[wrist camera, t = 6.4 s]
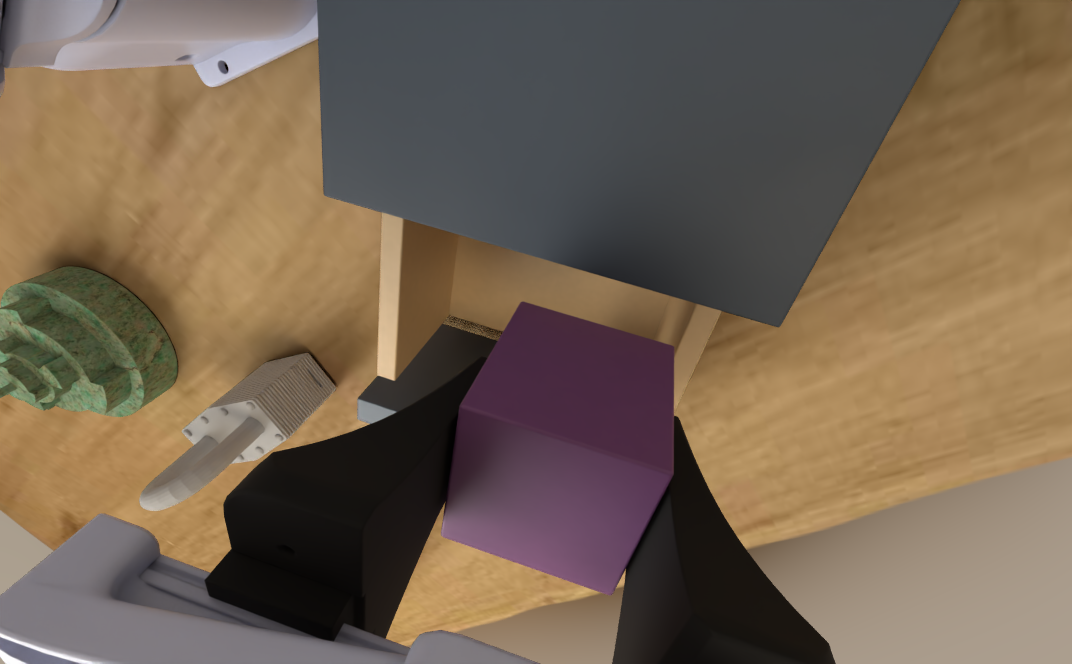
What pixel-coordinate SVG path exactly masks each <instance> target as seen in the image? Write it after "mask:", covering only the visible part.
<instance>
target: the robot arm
mask: <svg viewBox="0 0 1072 664" xmlns="http://www.w3.org/2000/svg"><path fill="white" fill-rule="evenodd" d="M317 39H318V18H317V0H0V97H1V95H2V93H3V91H4V85H5V71H4V67H5V68H17V67H39V66H42V67H46V68H50V69H56V70H65V71H78V70H97V69H115V68H134V67H152V66H171V65H189V64H193V65H194V67H195V69H196V71H197V72H198V74H199V76H200V78H201V79H202V81H203V82H204V83H205V84H206V85H207V86H210V87H216V86H221V85H223V84H225V83H227V82H229V81H231V80H233V79H236V78H238V77H240V76H242V75H244V74H246V73H248V72H250V71H252V70H254V69H256V68H259V67H261V66H263V65H265V64H267V63H269V62H271V61H273V60H275V59H277V58H279V57H282V56H284V55H286V54H288V53H290V52H292V51H294V50H296V49H298V48H300V47H302V46H304V45H307V44H309V43H311V42H313V41H315V40H317ZM225 62H226V64H227V65H228V68H229V69H228V71H227V70H226V68H225ZM486 360H487V358H486V357H483V356H481V357H478V358H477V359H476V360H474V361H473V362H472V363H471V364H469V365H468V366H467V367H466V368H464V369H463V370H462V371H460V372H459V373H458V374H456V375H455V376H454V377H452V378H451V379H450V380H448V381H447V382H445V383H444V384H442V385H441V386H439V387H438V388H437V389H435V390H434V391H432V392H431V393H429V394H427V395H426V396H424V397H422V398H421V399H419V400H417V401H416V402H414V403H412V404H411V405H409V406H407V407H405V408H403V409H402V410H400V411H398V412H396V413H394V414H392V415H390V416H388V417H386V418H384V419H381V420H379V421H377V422H374V423H372V424H370V425H367V426H365V427H362V428H360V429H357V430H355V431H352V432H349V433H346V434H343V435H340V436H337V437H334V438H330V439H327V440H324V441H320V442H317V443H313V444H309V445H304V446H300V447H296V448H291V449H287V450H282V451H277V452H273V453H272V454H270V455H269V456H268V457H267V458H266V459H265V460H263V461H262V462H261V463H260V464H259V465H258V466H257V467H255V468H254V469H253V470H252V471H251V472H250V473H249V474H248V475H247V476H246V477H245V478H244V479H243V480H242V482H241V483H240V484H239V485H238V486H237V487H236V488H235V489H234V490H233V491H232V492H231V493H230V494H229V495H228V496H227V497H226V500H225V502H224V504H223V505H224V518H225V522H226V527H227V531H228V535H229V539H230V544H231V548H232V549H231V550H230V551H229V552H228V554H227V555H226V556H225V557H224V558H223V559H222V561H221V562H220V563H219V564H218V565H217V566H216V567H215V569H214V570H213V571H212V572H211V573H209V572H207V571H204V570H201V569H199V568H196V567H193V566H191V565H188V564H185V563H183V562H180V561H177V560H175V559H172V558H170V557H167V556H164V555H162V554H160V548H159V543H158V541H157V539H156V538H155V536H154V535H153V534H151V533H150V532H149V531H148V530H146V529H144V528H142V527H140V526H137V525H134V524H132V523H129V522H126V521H123V520H121V519H118V518H115V517H113V516H110V515H107V514H98V515H97V516H96V517H95V518H93V519H92V520H91V521H90V522H89V523H87V524H86V525H85V526H84V527H82V528H81V529H80V530H79V531H78V532H76V533H75V534H74V535H73V536H72V537H70V538H69V539H68V540H67V541H66V542H64V543H63V544H62V545H61V546H59V547H58V548H57V549H56V550H55V551H53V552H52V553H51V554H50V555H49V556H47V557H46V558H45V559H44V560H43V561H41V562H40V563H39V564H38V565H37V566H35V567H34V568H33V569H32V570H30V571H29V572H28V573H27V574H26V575H24V576H23V577H22V578H21V579H20V580H19V581H17V582H16V583H15V584H13V585H12V586H11V587H10V588H9V589H8V590H6V591H5V592H4V593H3V594H1V595H0V657H1V659H2V660H3V661H4V662H5V663H6V664H540V663H537V662H534V661H532V660H529V659H526V658H523V657H521V656H518V655H515V654H513V653H510V652H507V651H504V650H502V649H499V648H497V647H494V646H490V645H488V644H485V643H483V642H480V641H478V640H475V639H472V638H469V637H467V636H464V635H461V634H457V633H452V632H448V631H443V630H438V631H431V632H425V633H422V634H420V635H419V636H418V637H417V639H416V640H415V641H414V643H413V644H412V646H411V648H409V647H406V646H403V645H401V644H398V643H395V642H393V641H390V640H387V639H385V638H386V636H387V633H388V631H389V628H390V626H391V624H392V621H393V619H394V616H395V614H396V611H397V609H398V607H399V604H400V602H401V599H402V597H403V595H404V592H405V590H406V587H407V585H408V583H409V580H410V578H411V576H412V573H413V571H414V569H415V566H416V564H417V562H418V559H419V557H420V555H421V553H422V550H423V548H424V546H425V543H426V541H427V539H428V537H429V534H430V532H431V530H432V528H433V526H434V523H435V521H436V519H437V517H438V515H439V513H440V511H441V509H442V507H443V505H444V503H445V501H446V496H447V489H448V482H449V475H450V468H451V462H452V455H453V448H454V441H455V434H456V427H457V421H458V414H459V407H460V404H461V403H462V401H463V399H464V398H465V396H466V394H467V392H468V391H469V389H470V387H471V386H472V384H473V382H474V381H475V379H476V377H477V375H478V374H479V372H480V370H481V369H482V367H483V365H484V364H485V362H486ZM612 664H836V663H835V660H834V658H833V655H832V652H831V649H830V646H829V643H828V642H827V641H826V640H825V639H824V638H823V637H822V636H821V635H820V634H819V633H818V632H817V631H816V630H815V629H814V628H813V627H812V626H811V625H810V624H809V623H808V622H807V621H806V620H805V619H804V618H803V617H802V616H801V615H800V614H799V613H798V612H797V611H796V610H795V609H794V607H793V606H792V605H791V604H790V603H789V602H788V601H787V600H786V599H785V597H784V596H783V595H782V594H781V593H780V592H779V590H778V589H777V588H776V587H775V586H774V585H773V584H772V582H771V581H770V580H769V579H768V578H767V576H766V575H765V574H764V573H763V571H762V570H761V569H760V567H759V566H758V565H757V563H756V562H755V561H754V560H753V558H752V557H751V556H750V554H749V553H748V552H747V550H746V549H745V547H744V546H743V545H742V543H741V542H740V540H739V539H738V537H737V536H736V534H735V533H734V531H733V530H732V528H731V527H730V525H729V523H728V522H727V520H726V519H725V517H724V515H723V514H722V512H721V510H720V508H719V507H718V505H717V503H716V501H715V499H714V497H713V496H712V494H711V492H710V490H709V488H708V486H707V484H706V482H705V480H704V477H703V475H702V473H701V471H700V469H699V467H698V464H697V462H696V460H695V458H694V455H693V453H692V450H691V448H690V446H689V443H688V440H687V438H686V435H685V433H684V430H683V427H682V425H681V422H680V420H679V418H678V417H677V416H674V475H673V477H672V479H671V481H670V483H669V484H668V486H667V488H666V490H665V492H664V494H663V496H662V498H661V500H660V502H659V504H658V506H657V508H656V510H655V512H654V514H653V516H652V518H651V520H650V522H649V524H648V526H647V528H646V530H645V532H644V534H643V536H642V537H641V539H640V541H639V543H638V545H637V547H636V549H635V551H634V553H633V555H632V557H631V559H630V561H629V563H628V565H627V567H626V575H625V584H624V591H623V598H622V606H621V612H620V619H619V625H618V632H617V639H616V644H615V651H614V657H613V662H612Z"/></svg>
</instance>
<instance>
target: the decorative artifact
mask: <svg viewBox="0 0 1072 664" xmlns="http://www.w3.org/2000/svg"><path fill="white" fill-rule="evenodd" d="M177 369H178V368H177V359H176V355H175V351H174V348H173V346H172V343H171V341H170V339H169V337H168V335H167V334H166V332H165V330H164V329H163V327H162V326H161V324H160V323H159V321H158V320H157V319H156V318H155V316H154V315H153V314H152V313H151V312H150V310H149V309H148V308H147V307H146V306H145V305H144V304H143V303H142V302H141V301H140V300H139V299H138V298H137V297H135V296H134V295H133V294H132V293H131V292H129V291H128V290H127V289H126V288H124V287H123V286H121V285H120V284H118V283H117V282H115V281H114V280H112V279H110V278H108V277H107V276H104V275H102V274H100V273H98V272H95V271H93V270H89V269H86V268H81V267H74V266H67V267H62V268H59V269H56V270H53V271H50V272H48V273H45V274H42V275H40V276H37V277H34V278H32V279H29V280H26V281H24V282H21V283H18V284H15V285H13V286H11V287H10V288H8V289H7V290H6V292H5V293H4V295H3V297H2V300H1V308H0V398H1V397H3V396H5V395H8V394H10V395H12V396H13V397H15V398H17V399H19V400H23V401H25V402H27V403H29V404H30V405H32V406H34V407H36V408H38V409H41V410H46V409H48V410H49V409H51V408H53V407H54V406H58V407H60V408H63V409H66V410H69V411H77V412H78V411H85V410H87V409H88V410H91V411H93V412H96V413H99V414H102V415H107V416H113V417H123V416H128V415H131V414H133V413H135V412H136V411H138V410H139V409H141V408H142V407H144V406H145V405H147V404H148V403H149V402H151V401H152V400H154V399H155V398H157V397H158V396H160V395H161V394H162V393H164V392H165V391H167V390H168V389H170V388H171V386H172V385H173V384H174V382H175V380H176V376H177Z"/></svg>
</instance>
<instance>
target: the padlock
mask: <svg viewBox="0 0 1072 664" xmlns="http://www.w3.org/2000/svg"><path fill="white" fill-rule="evenodd" d="M335 390H336V386H335V385H334V384H333V383H332V381H331V380H330V379H329V378H328V376H327V375H326V374H325V373H324V371H323V370H322V369H321V368H320V366H319V365H318V364H317V363H316V361H315V360H314V359H313V358H312V356H311V355H310V354H309V353H304V354H299V355H295V356H291V357H286V358H282V359H278V360H274V361H269V362H266V363H264V364H263V365H262V366H260V367H259V368H258V369H256V370H255V371H254V372H253V373H251V374H250V375H249V376H247V377H246V378H245V379H244V380H242V381H241V382H240V383H239V384H237V385H236V386H235V387H233V388H232V389H231V390H230V391H228V392H227V393H226V394H225V395H223V396H222V397H221V398H220V399H218V400H217V401H216V402H214V403H213V404H212V405H211V406H209V407H208V408H207V409H206V410H205V411H203V412H202V413H201V414H200V415H199V416H198V417H196V418H195V419H194V420H193V421H192V422H191V423H189V424H188V425H187V426H186V427H185V428H184V429H183V430H182V433H183V434H184V435H185V436H186V437H187V438H188V439H189V440H190V441H191V442H192V443H193V444H194V446H193V447H191V448H190V449H189V450H188V451H187V452H185V453H184V454H183V455H182V456H181V457H179V458H178V459H177V460H176V461H175V462H174V463H172V464H171V465H170V466H169V467H168V468H166V469H165V470H164V471H163V472H162V473H161V474H159V475H158V476H157V477H156V478H155V479H154V480H152V481H151V482H150V483H149V484H148V485H147V486H146V488H145V489H144V490H143V491H142V493H141V496H140V500H139V502H140V505H141V506H142V508H144V509H146V510H151V511H159V510H163V509H166V508H169V507H171V506H174V505H176V504H178V503H180V502H182V501H184V500H185V499H187V498H189V497H190V496H192V495H193V494H195V493H196V492H198V491H199V490H200V489H202V488H203V487H204V486H206V485H207V484H208V483H209V482H211V481H212V480H213V479H214V478H215V477H216V476H218V475H219V474H220V473H221V472H222V471H223V470H224V469H225V468H226V467H227V466H228V465H230V464H232V463H239V462H247V461H255V460H257V459H259V458H260V457H262V456H263V455H265V454H266V453H268V452H269V451H271V450H272V449H274V448H275V447H277V446H278V445H280V444H281V443H282V442H284V441H285V440H287V439H288V438H290V436H292V434H293V433H295V431H296V430H297V429H298V428H299V427H300V426H301V425H302V424H303V423H304V422H305V421H306V420H307V419H308V418H309V417H310V416H311V415H312V414H313V413H314V412H315V411H316V410H317V409H318V407H320V405H322V403H324V401H326V399H327V398H328V397H329V396H330V395H331V394H332V393H333V392H334V391H335Z"/></svg>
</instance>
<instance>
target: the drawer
mask: <svg viewBox="0 0 1072 664" xmlns="http://www.w3.org/2000/svg"><path fill="white" fill-rule="evenodd" d="M521 302H527V303H530V304H534V305H537V306H540V307H544V308H547V309H551V310H554V311H557V312H561V313H564V314H568V315H571V316H574V317H578V318H581V319H584V320H588V321H591V322H595V323H598V324H601V325H605V326H608V327H612V328H615V329H618V330H622V331H625V332H628V333H632V334H635V335H639V336H642V337H645V338H649V339H652V340H656V341H659V342H662V343H666V344H669V345H672V346H674V413H675V410H676V408H677V406H678V404H679V402H680V400H681V398H682V396H683V393H684V391H685V389H686V387H687V385H688V383H689V381H690V378H691V376H692V374H693V372H694V370H695V368H696V366H697V363H698V361H699V359H700V357H701V355H702V353H703V351H704V349H705V346H706V344H707V342H708V340H709V338H710V336H711V334H712V331H713V329H714V327H715V325H716V323H717V321H718V319H719V316H720V314H721V312H722V311H720V310H717V309H713V308H710V307H706V306H703V305H699V304H696V303H693V302H689V301H686V300H682V299H679V298H675V297H672V296H668V295H665V294H662V293H658V292H655V291H651V290H648V289H644V288H641V287H637V286H634V285H631V284H627V283H624V282H620V281H617V280H613V279H610V278H606V277H603V276H599V275H596V274H593V273H589V272H586V271H582V270H579V269H575V268H572V267H568V266H565V265H562V264H558V263H555V262H551V261H548V260H544V259H541V258H537V257H534V256H531V255H527V254H524V253H520V252H517V251H513V250H510V249H506V248H503V247H499V246H496V245H493V244H489V243H486V242H482V241H479V240H475V239H472V238H468V237H465V236H462V235H458V234H455V233H451V232H448V231H444V230H441V229H437V228H434V227H431V226H427V225H424V224H420V223H417V222H413V221H410V220H406V219H403V218H400V217H396V216H393V215H389V214H386V213H382V223H381V257H380V290H379V324H378V357H377V375H378V376H377V377H376V378H375V379H374V380H373V382H372V383H371V384H370V385H369V386H368V387H367V388H366V389H365V391H364V392H363V393H362V394H361V395H360V396H359V397H358V408H357V419H358V420H361V421H364V422H367V423H369V424H372V423H374V422H377V421H379V420H381V419H384V418H386V417H388V416H390V415H392V414H394V413H396V412H398V411H400V410H402V409H403V408H405V407H407V406H409V405H411V404H412V403H414V402H416V401H417V400H419V399H421V398H422V397H424V396H426V395H427V394H429V393H431V392H432V391H434V390H435V389H437V388H438V387H439V386H441V385H442V384H444V383H445V382H447V381H448V380H450V379H451V378H452V377H454V376H455V375H456V374H458V373H459V372H460V371H462V370H463V369H464V368H466V367H467V366H468V365H469V364H471V363H472V362H473V361H474V360H476V359H477V358H478V357H481V356H483V357H486V358H488V357H489V355H490V353H491V352H492V350H493V348H494V347H495V345H496V343H497V341H496V340H493V339H490V338H487V337H483V336H480V335H477V334H474V333H471V332H467V331H464V330H461V329H458V328H454V327H451V326H448V325H445V324H442V323H443V322H444V321H445V320H446V318H447V317H448V316H449V315H450V316H453V317H457V318H460V319H463V320H466V321H470V322H473V323H476V324H479V325H483V326H486V327H489V328H492V329H495V330H499V331H502V332H503V331H504V330H505V328H506V326H507V324H508V323H509V321H510V319H511V318H512V316H513V314H514V313H515V311H516V309H517V307H518V306H519V304H520V303H521Z"/></svg>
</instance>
